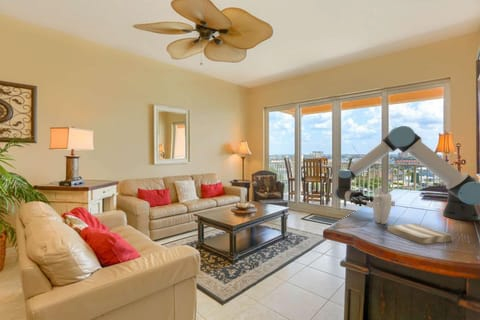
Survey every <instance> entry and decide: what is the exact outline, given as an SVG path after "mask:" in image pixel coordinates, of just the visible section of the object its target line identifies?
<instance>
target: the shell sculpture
mask: <svg viewBox="0 0 480 320" xmlns="http://www.w3.org/2000/svg"><path fill="white" fill-rule="evenodd" d="M374 189H375V192H374V194H375V195H374V196H373V197H374V200H373V208H372V211H373V216H374V220H375V223H377V224H383V225H384V224H386V223H388V219H389V216H390V213H391V209H392V206H391V201H392V195H391V192H388V193H384V192H382V190H381V188H380V187H375V188H374ZM386 203H387V204H386Z"/></svg>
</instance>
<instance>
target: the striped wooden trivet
mask: <svg viewBox="0 0 480 320" xmlns="http://www.w3.org/2000/svg"><path fill="white" fill-rule="evenodd" d="M387 232H388V233H391V234H394V235H397V236H399V237H402V238H404V239H407V240H409V241H412V242H414V243H418V244H420V245H426V244H434V243H445V242H452V238H453V237H452V234H451V233H447V232H444V231H440V230H438V229H433V228H430V227H427V226H424V225H421V224H419V223H409V224H396V225H395V224H394V225H388V226H387Z"/></svg>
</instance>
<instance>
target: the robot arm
mask: <svg viewBox="0 0 480 320" xmlns="http://www.w3.org/2000/svg"><path fill="white" fill-rule="evenodd" d="M397 149H398V150H399V151H400V152H402V153H403V154H409V156H411V157H412V158H414V159H415V160H416V161H417V162H418V163H419V164H421V165H422V166H423V167H424V168H426V169H427V170H428V171H429V172H431V173H432V174H433V175H435V177H436V178H437V179H439V180H440V181H441V182H443V184H445V189H447V203H446V204H445V207H444V209H443V211H442V213H443V214H442V215H443V216H444V217H447V218H451V219H453V220H460V221H468V222H475V221H476V222H477V221H480V214H479V212H478V209H477V206H476V205H480V182H479V181H477V179H476V177H474V176H473V177H472V176H471V175H469V173H461V172H460V171H459V170H458V169H456V168H455V167H454V166H453V165H452V164H450V163H449V162H448V161H446V159H444V158H443V157H442V156H440V155H439V154H437V153H436V152H435V151H434V150H432V149H431V148H430V147H429V146H427V145H426V144H425V143H424V142H422V137H421V136H420V135H418V134H417V133H416V132H415V131H414V129H413V128H412V127H410V126H407V125H397V126H395V127H393V128H392V129H391V130H390V131H389V133H388V134H387V135H386V136H385V138H383V139H381V141H380V143H379V144H378V145H377V146H375V147H374V148H373V149H371V150H370V151H369V152H367V153H366V154H365V155H363V156H362V157H361V158H360V159H358V160H357V161H356V162H355V163H353V164H351V166H349V167H348V168H347V169H339V170H338V173H337V180H338V181H337V182H338V183H337V185H338V186H337V188H335V190H334V197H336V198H337V199H339V200H341V201H345V202H349V203H350V204H354V205H356V206H357V205H359V207H362V206H363V207H367V208H370V209H373V200H374V197H375V196H372V195H369V196H368V195H364V193H363V192H362V191H358V190H356V189H355V190H354V189H352V181H353V180H354V179H356V178H357V177H358V176H359V175H361V174H362V173H363V172H365V171H366V170H367V169H369V168H370V167H371V166H373V165H374V164H376V163H377V162H378V161H380V160H381V159H383V158H385V156H386V155H388V154H389V153H393V152H394V151H396V150H397ZM386 204H387V203H386ZM395 205H396V202H395V200H391V207H396V206H395Z"/></svg>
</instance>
